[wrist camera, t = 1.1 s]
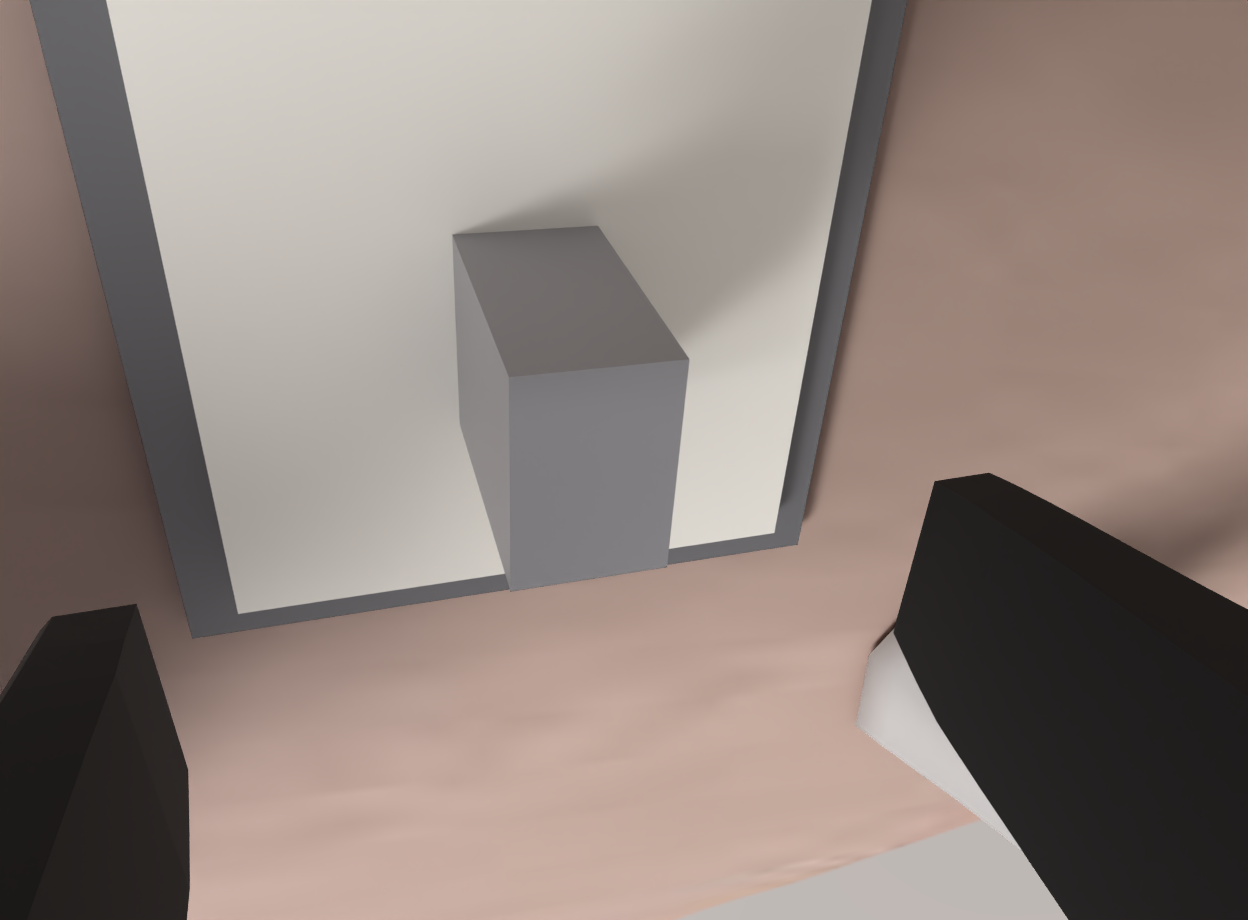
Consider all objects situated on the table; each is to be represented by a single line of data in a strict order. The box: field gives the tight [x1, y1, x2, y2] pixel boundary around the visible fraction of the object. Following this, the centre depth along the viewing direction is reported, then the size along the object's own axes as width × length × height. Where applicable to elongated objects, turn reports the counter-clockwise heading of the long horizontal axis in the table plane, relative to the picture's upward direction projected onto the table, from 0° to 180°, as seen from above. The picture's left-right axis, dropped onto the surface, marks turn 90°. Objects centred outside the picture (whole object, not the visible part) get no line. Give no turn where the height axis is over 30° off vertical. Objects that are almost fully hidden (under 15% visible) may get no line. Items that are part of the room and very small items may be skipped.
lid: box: [106, 0, 872, 614], centre depth 16 cm, size 11×11×5 cm
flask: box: [856, 629, 1021, 850], centre depth 25 cm, size 7×7×10 cm
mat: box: [30, 0, 907, 639], centre depth 18 cm, size 13×13×1 cm
